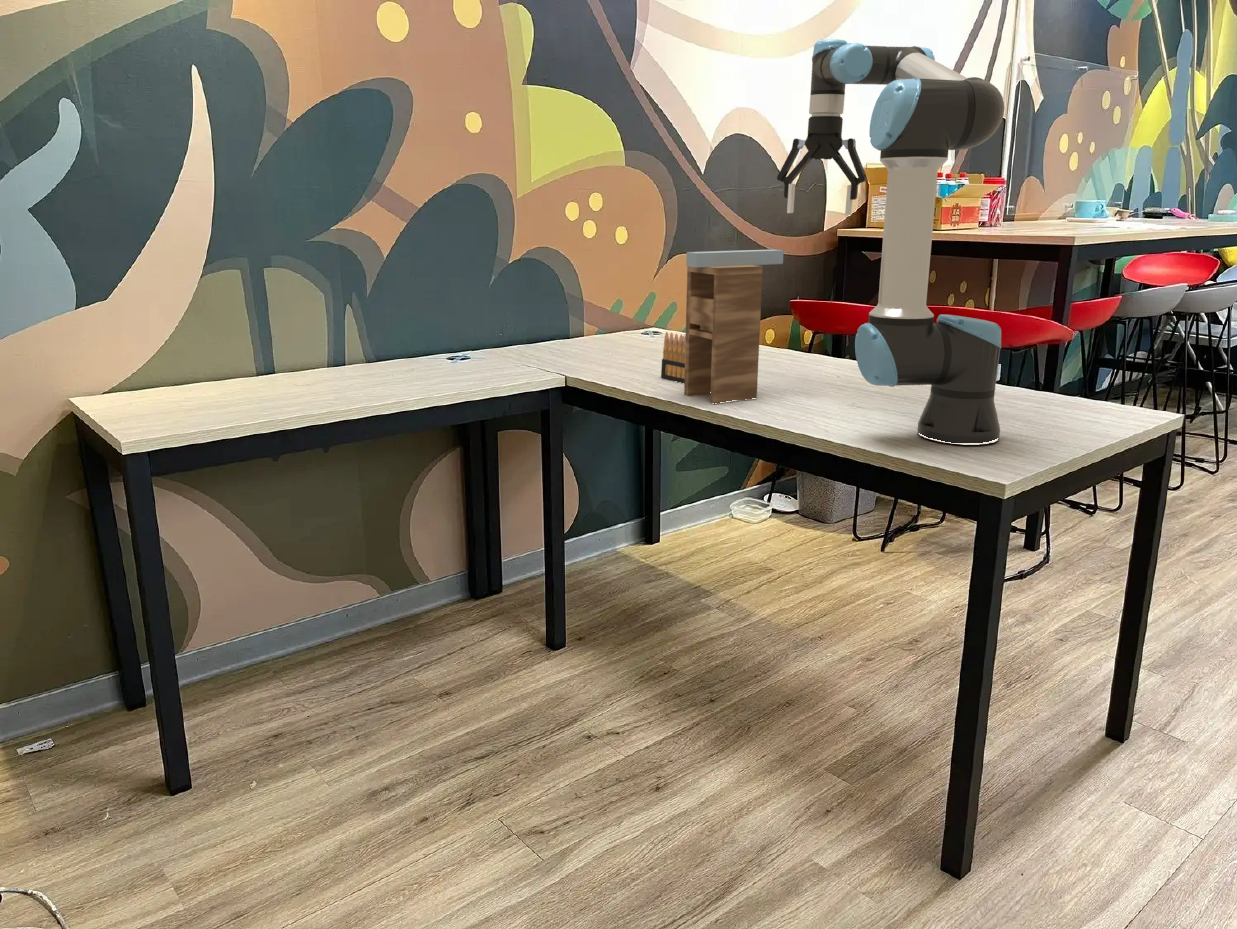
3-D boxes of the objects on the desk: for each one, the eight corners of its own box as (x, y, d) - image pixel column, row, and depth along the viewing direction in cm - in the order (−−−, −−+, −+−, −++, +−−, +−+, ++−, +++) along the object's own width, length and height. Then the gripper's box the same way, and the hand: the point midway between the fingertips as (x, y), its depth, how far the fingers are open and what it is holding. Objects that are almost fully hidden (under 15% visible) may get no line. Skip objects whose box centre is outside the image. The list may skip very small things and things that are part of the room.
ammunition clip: (695, 384, 231) (696, 335, 228) (689, 384, 230) (690, 336, 227) (666, 377, 239) (667, 330, 236) (660, 378, 238) (661, 331, 235)
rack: (756, 398, 215) (763, 255, 205) (714, 404, 209) (719, 256, 200) (725, 389, 225) (730, 252, 215) (684, 394, 219) (687, 253, 210)
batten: (782, 263, 214) (783, 250, 213) (696, 267, 202) (696, 253, 201) (771, 262, 217) (772, 249, 216) (686, 266, 206) (686, 252, 205)
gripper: (885, 115, 206) (876, 214, 213) (777, 117, 217) (771, 211, 224) (878, 114, 200) (869, 216, 207) (767, 115, 211) (761, 212, 217)
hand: (818, 213), depth 215 cm, fingers open, 13 cm apart
